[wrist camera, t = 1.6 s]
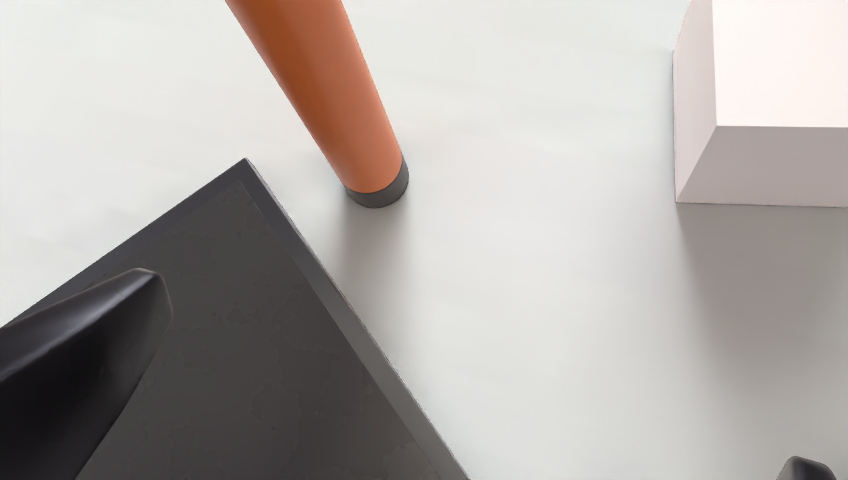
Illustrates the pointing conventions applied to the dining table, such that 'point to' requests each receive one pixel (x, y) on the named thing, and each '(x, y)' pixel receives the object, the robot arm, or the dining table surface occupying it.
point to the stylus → (329, 91)
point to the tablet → (255, 358)
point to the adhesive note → (762, 103)
